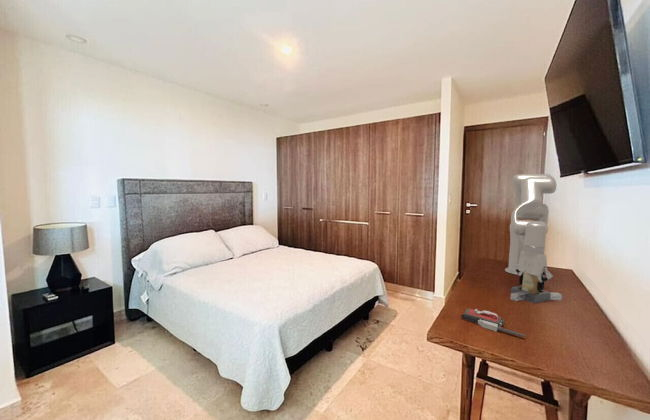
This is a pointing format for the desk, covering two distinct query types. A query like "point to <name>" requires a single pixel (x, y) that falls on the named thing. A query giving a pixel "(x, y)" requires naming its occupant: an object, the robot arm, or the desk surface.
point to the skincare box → (530, 283)
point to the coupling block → (533, 295)
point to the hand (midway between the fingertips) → (530, 286)
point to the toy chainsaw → (487, 320)
